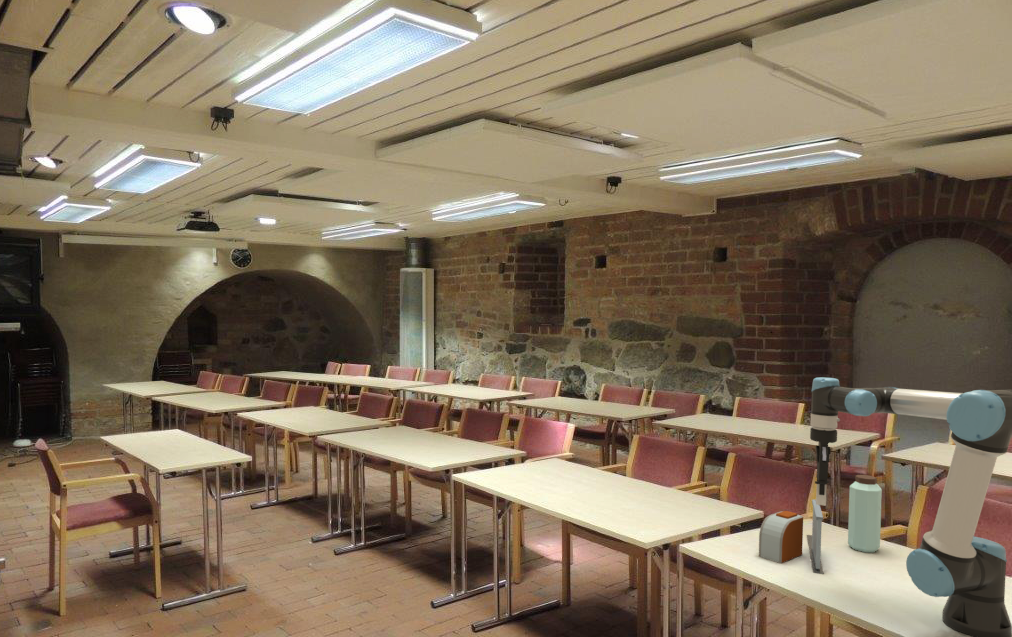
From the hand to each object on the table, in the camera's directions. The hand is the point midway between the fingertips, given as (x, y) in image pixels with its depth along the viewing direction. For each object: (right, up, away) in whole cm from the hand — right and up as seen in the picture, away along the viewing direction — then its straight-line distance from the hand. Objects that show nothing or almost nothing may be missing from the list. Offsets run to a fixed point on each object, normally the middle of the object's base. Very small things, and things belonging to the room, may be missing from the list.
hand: (820, 504), depth 215 cm
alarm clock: (-4, -22, +20) cm, 30 cm away
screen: (+5, -22, +16) cm, 28 cm away
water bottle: (+27, -23, +28) cm, 46 cm away
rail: (+8, -22, +22) cm, 32 cm away
